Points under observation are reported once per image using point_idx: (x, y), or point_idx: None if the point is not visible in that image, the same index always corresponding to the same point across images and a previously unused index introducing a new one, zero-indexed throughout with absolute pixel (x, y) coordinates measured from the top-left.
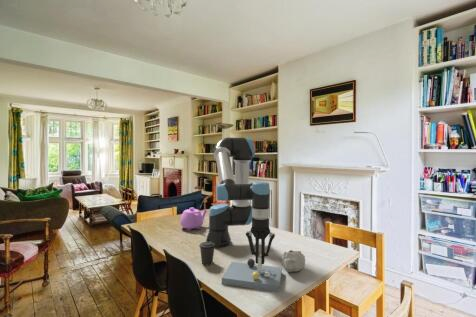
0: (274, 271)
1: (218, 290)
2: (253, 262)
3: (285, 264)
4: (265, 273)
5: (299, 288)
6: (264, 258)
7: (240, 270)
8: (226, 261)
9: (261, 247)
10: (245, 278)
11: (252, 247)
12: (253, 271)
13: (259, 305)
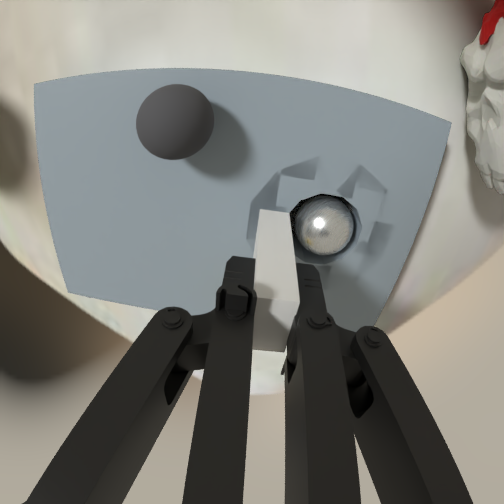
0: (388, 187)
1: (96, 315)
2: (199, 146)
3: (488, 165)
4: (313, 249)
5: (458, 273)
6: (322, 306)
7: (120, 201)
8: (22, 27)
9: (287, 456)
10: (180, 292)
11: (158, 430)
12: (217, 201)
13: (268, 376)
